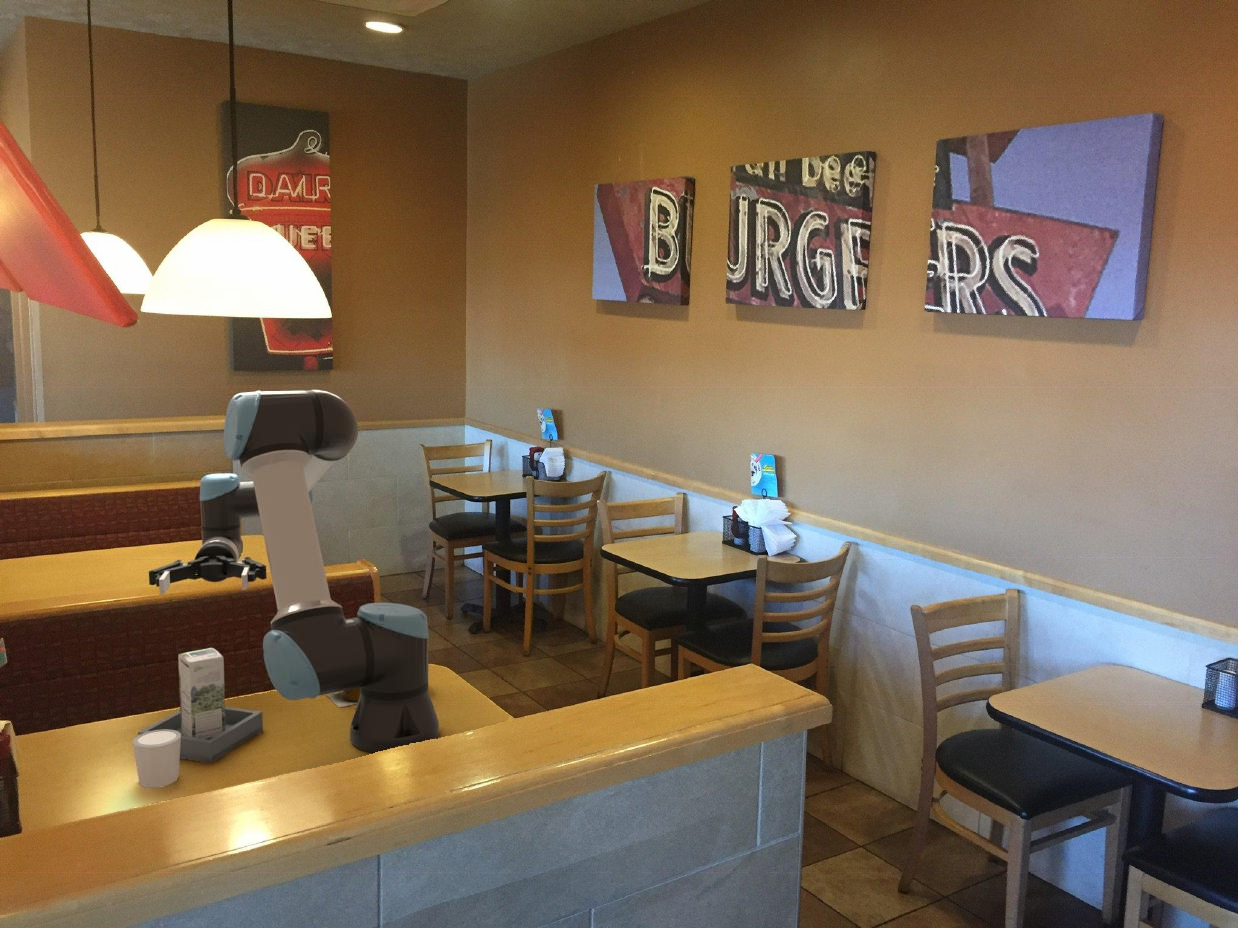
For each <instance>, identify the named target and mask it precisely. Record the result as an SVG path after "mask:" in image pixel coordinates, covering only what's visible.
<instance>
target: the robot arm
mask: <svg viewBox="0 0 1238 928" xmlns="http://www.w3.org/2000/svg"><path fill="white" fill-rule="evenodd" d="M358 436H359V423H358V419H357V417H356V414H355V411H353V409H352V408H351V406H350V404H348V402H346V401H344V399H342V398H341V397H339V396H338V395H336V394H334V393H331V392H330V391H329V392H328V391H325V390H320V389H310V390H309V389H308V390H280V391H279V390H277V391H276V390H275V391H272V390H271V391H270V390H269V391H268V390H267V391H261V390H256V391H249V392H247V391H246V392H240V393H237V394H235V395H234V396H233V397H232V398H231V399H230V402H229V404H228V405H227V409H226V412H225V419H224V430H223V442H224V450H225V451H224V452H225V454H226V456H227V458H228V459H229V460H231V461H234V462H237V461H239V463H240V470H241V472H242V474H243V475H245V476H247V477H248V478H250V479H252V480H251V481H240V479H239V476H238V475H237V474H236V473H211V474H206V475H204V476H203V477H202V478H201V479H200V483H199V484H200V486H199V488H200V489H199V501H200V503H199V504H200V516H201V517H200V518H201V547H200V549H199V550H198V552H197V553H196V555H195V557H194V559H193V560H190V561H188V562H187V564H186V563H185V564H184V562H183V560H181V559H178V560H175V561H174V562H171V563H169V564H167V565H166V564H165V565H163V566H161V567H160V566H159V567H157V568H154V569H152V570H148V582H149V584H148V585H150V586H156V587H157V588H158V587H159V588H158V589H159V595H165V594H166V593H167V591H168V590H169V589H170V587H171V584H174V583H178V582H182V581H185V580H194V581H195V580H200V579H203V580H204V581H206V582H210V583H219V582H220V583H221V582H223V581H225V580H227V579H231V578H237V579H241V590H242V591H246V590H247V589H248V587H249V584H250V583H254V582H255V581H256V580H257V579H260V580H266V579H267V565H266V564H263V563H260V562H258V561H257V560H253V559H252V557H250V556H246V557H244V558H242V559H241V561H239V559H240V558H241V556H242V553H243V550H244V543H243V542H244V541H243V540H242V533H241V532H242V531H241V527H242V526H241V525H242V523H241V519H247V518H248V519H249V518H257V517H258V518H260V523H261V528H262V535H263V539H264V544H265V545H264V546H265V551H266V553H267V554H266V555H267V559H268V565H269V570H270V577H271V581H272V587H273V592H274V596H275V602H276V608H277V613H276V615H275V616H274V617H273V618H272V620H270V627H271V630H270V631H268V632H267V633H266V634H265V635H264V637H263V640H262V641H263V642H262V649H263V659H264V660H263V661H264V665H265V668H266V671H267V674H268V677H269V679H270V681H271V684H272V685H273V687H274V689H275V690H276V691H277V693H278V694H279V695H280V696H282V697H283V698H284V699H286V700H289V701H297V700H298V701H299V700H305V699H316V698H318V697H319V696H325V695H327V694H331V693H339V692H343V691H345V690H350V689H355V688H359V687H360V697H359V700H358V704H356V707H355V710H354V713H353V715H352V716H353V717H352V718H351V719H352V720H351V722H350V723H351V724H350V727H349V728H350V729H349V734H350V735H349V737H350V738H349V740H350V742H351V744H352V745H353V746H355V747H356V748H357V749H360V750H362V751H366V752H370V753H375V752H378V751H383V750H387V749H390V748H395V747H398V746H403V745H409V744H410V743H416V742H422V741H425V740H430V739H435V738H436V739H438V737H439V734H440V730H439V729H440V725H439V723H440V722H439V718H438V715H437V712H436V708H435V706H434V704H433V703H434V702H433V700H432V698H431V695H430V692H429V638H430V634H429V628H428V625H429V624H428V617H427V615H426V614H425V612H423V611H422V610H420V609H419V608H417V607H414V606H410V605H407V604H402V603H393V602H373V603H372V602H371V603H370V602H369V603H365V604H364V605H361V606H359V609H358V611H357V617H352V618H345V615H344V610H343V606H342V605H341V604H338V603H337V602H336V601H334V600H332V599H331V594H330V588H329V584H328V579H327V576H326V575H327V573H326V571H325V565H324V561H323V555H322V550H321V545H320V541H319V540H320V539H319V536H318V532H317V526H316V523H315V521H316V520H315V517H314V512H313V507H312V503H313V496H314V495H313V488H314V486H315V485H316V484H317V483H318V482H319V481H320V479H321V478H322V477H323V476H324V475H325V473H326V472H327V471H328V470H329V468H330V467H331V466H332V465H333V464H334V463H335V462H337V461H340V460H342V459H344V458H345V457H347V455H348V454H349V453H350V452H351V451H352V450H353V448H354V447H355V445H356V443H357V440H358Z"/></svg>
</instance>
